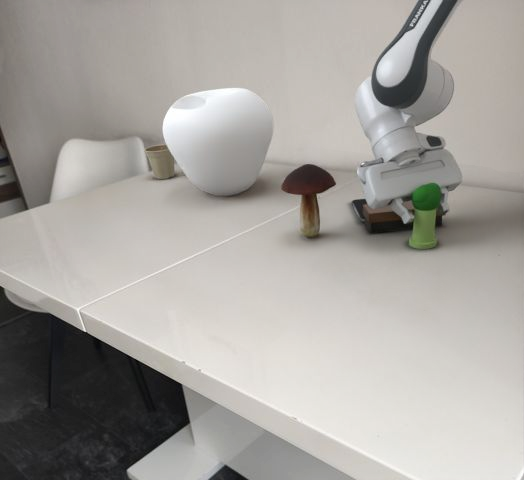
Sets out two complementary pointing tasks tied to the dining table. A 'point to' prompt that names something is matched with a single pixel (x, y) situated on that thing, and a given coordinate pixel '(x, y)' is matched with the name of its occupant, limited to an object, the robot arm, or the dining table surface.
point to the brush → (390, 218)
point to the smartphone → (359, 208)
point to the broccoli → (425, 215)
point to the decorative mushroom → (308, 194)
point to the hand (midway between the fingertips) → (427, 217)
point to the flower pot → (161, 161)
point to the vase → (219, 138)
